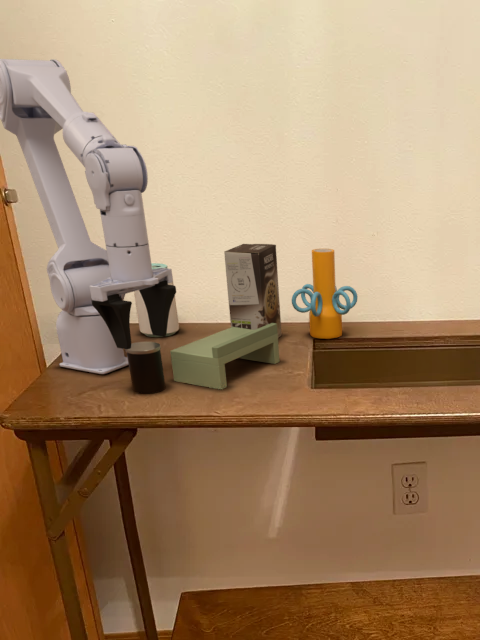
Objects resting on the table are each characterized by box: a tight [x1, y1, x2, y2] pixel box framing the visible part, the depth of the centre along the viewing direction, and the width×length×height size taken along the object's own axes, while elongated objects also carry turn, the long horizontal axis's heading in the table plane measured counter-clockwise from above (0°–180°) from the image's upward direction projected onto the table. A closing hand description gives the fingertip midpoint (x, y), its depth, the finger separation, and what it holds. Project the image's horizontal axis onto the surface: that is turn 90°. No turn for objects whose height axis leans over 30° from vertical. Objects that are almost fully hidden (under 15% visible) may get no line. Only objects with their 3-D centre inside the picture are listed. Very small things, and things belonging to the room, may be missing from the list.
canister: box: [124, 341, 167, 395], centre depth 119 cm, size 5×5×6 cm
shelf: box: [169, 323, 281, 390], centre depth 127 cm, size 9×16×6 cm, turn 155°
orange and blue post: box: [291, 248, 358, 340], centre depth 144 cm, size 12×10×15 cm
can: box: [133, 262, 180, 338], centre depth 145 cm, size 7×7×12 cm
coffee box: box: [223, 243, 283, 339], centre depth 140 cm, size 9×6×16 cm
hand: (142, 341), depth 117 cm, fingers open, 7 cm apart
